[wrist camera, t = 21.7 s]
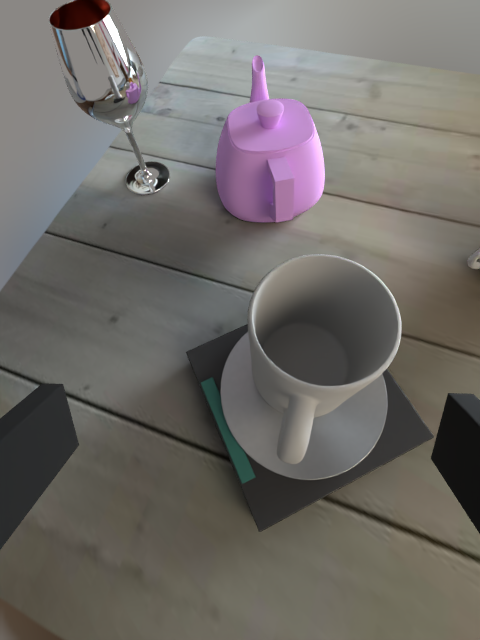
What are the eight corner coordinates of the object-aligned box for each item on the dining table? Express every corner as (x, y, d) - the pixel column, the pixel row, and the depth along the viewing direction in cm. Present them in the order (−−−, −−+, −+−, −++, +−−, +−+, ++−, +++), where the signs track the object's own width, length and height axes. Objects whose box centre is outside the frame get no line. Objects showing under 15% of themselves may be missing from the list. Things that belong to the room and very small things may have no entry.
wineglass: (119, 204, 42) (28, 44, 26) (120, 163, 46) (40, -1, 29) (177, 194, 42) (124, 29, 26) (174, 154, 46) (125, -15, 29)
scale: (259, 524, 26) (259, 534, 23) (192, 360, 33) (184, 349, 29) (418, 439, 28) (438, 436, 25) (324, 299, 34) (331, 283, 31)
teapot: (301, 133, 46) (312, 41, 36) (335, 240, 38) (362, 159, 27) (212, 146, 46) (197, 58, 36) (226, 256, 38) (213, 182, 28)
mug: (264, 315, 29) (265, 240, 19) (356, 334, 28) (409, 265, 18) (229, 447, 25) (207, 439, 15) (337, 478, 23) (394, 493, 13)
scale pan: (265, 513, 23) (265, 514, 23) (197, 354, 29) (196, 351, 28) (419, 430, 25) (424, 429, 24) (328, 295, 31) (329, 291, 30)
